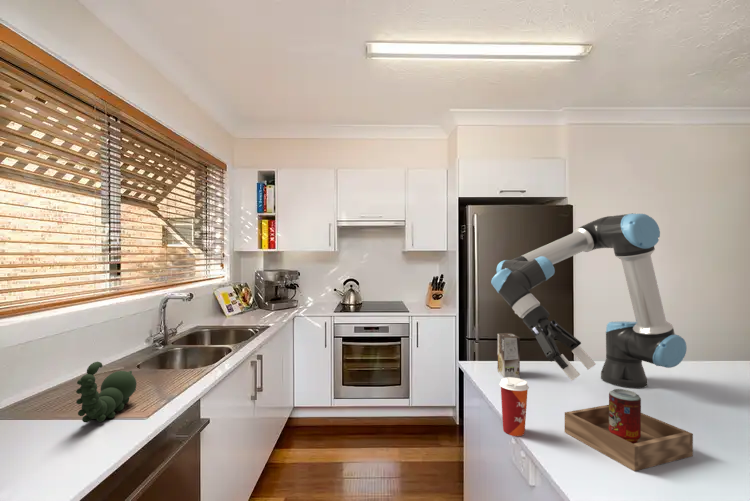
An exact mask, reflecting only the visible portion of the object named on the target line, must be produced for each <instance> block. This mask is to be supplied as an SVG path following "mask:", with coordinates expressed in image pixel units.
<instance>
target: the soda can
mask: <svg viewBox="0 0 750 501" xmlns="http://www.w3.org/2000/svg"><path fill="white" fill-rule="evenodd" d="M608 405H609V431H610V433H612V434H614V435H616V436H618V437H620V438H622V439H624V440H627V441H629V442H631V443H633V444H635V443H637V441H638V439H639V438H640V437H641V413H642V398H641V396H640V395H638V394H637V393H636V392H634V391H633V390H629V389H624V388H615V389H611V390H610V391H609V393H608Z"/></svg>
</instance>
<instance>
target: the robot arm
mask: <svg viewBox="0 0 750 501" xmlns="http://www.w3.org/2000/svg"><path fill="white" fill-rule="evenodd" d="M660 230H661V229H660V227H659V225H658V223H657V221H656V220H655V219H654V218H653V216H652V217H651V216H649V215H648V214H645V213H627V214H619V215H618V214H617V215H607V216H604V217H601V218H597V219H595V220H593V221H590V222H588V223H585V224H584V225H581V226H579V227H577V228H575V229H574V230H573V232H572V233H570V234H567V235H566V236H563V237H561V238H558V239H556V240H554V241H552V242H550V243H548V244H545V245H542V246H540V247H538V248H536V249H533V250H531V251H529V252H526V253H525V254H522V255H520V256H517V257H515V258H513V259H504V260H502V261H500V262H499V263H498V264H497V266H496V273H495V274H494V276H493V277H491V281H490V282H491V283H490V284H491V286H493V288H494V289H495V290H496V292H497V294H499V295H500V297H502V298H503V300H504V301H505V302H506V303H507V304H508V306H510V308H511V309H512V311H514V314H515V315H517V316H518V317H519V318H520V319H522V322H523V323H524V324H525V326H526V327H527V328H528V329H529V330H530V332H531V333H532V335H533V336H534V338H535V339H536V341H537V342H538V344H539V346H540V348H541V350H542V351H543V354H544V355H545V357H546V358H547V359H548V360H549V362H553V361H554V362H555V363H556V364H557V366H559V367H560V369H561V370H562V371H563V372H564V373H565V375H567V377H568V378H569V379H570V380H571V381H574V380H576V379H577V378H578V377H579V376H581V374H580V372H579V371H578V370H577V369H576V368H575V366H574V365H573V364H572V363H571V361H569V360H568V358H567V357H566V356H565V355H564V354H563V353H562V354H561V352H560V351H559V348H558V345H557V343H556V341H555V340H557V341H558V342H560V343H561V344H563V345H564V346H566V347H567V348H569V349H571V352H572V353H573V355H574V356H575V357H576V358H577V359H578V360H579V362H581V364H582V365H583V367H585V368H586V370H590V369H591V368H593V367H594V366H596V362H595V361H594V360H593V359H592V358H591V357H590V356H589V355H588V354H587V352H586V351H585V350H584V349H583V348H582V347H581V346H580V345H581V344H582V341H580V340H579V339H577V338H576V337H575V336H574V335H573V334H571V333H570V332H569V331H568V330H566V329H565V328H564V327H563V326H561V325H560V324H559V323H558V322H557V321H556V320H555V319H552V320H551V321H550V320H549V319H548V318H549V317H550V314H551V313H550V312H549V311H548V310H547V309H546V308H545V307H544V306H543V305H541V302H540V301H539V300H538V299H537V298H536V297H535V295H534V294H532V292H531V290H533V289H534V288H535V287H537V286H539V285H541V284H542V283H544V282H546V281H548V280H549V279H550V278H552V276H554V275H555V272H556V271H555V267H554V265H555V264H558V263H560V262H562V261H564V260H567V259H569V258H571V257H573V256H576V255H578V254H580V253H582V252H583V253H588V252H591V251H595V250H597V249H599V250H601V249H613V252H614V256H615V258H618V259H620V260H621V263H622V268H623V273H624V277H625V280H626V285H627V290H628V293H629V297H630V301H631V302H630V303H631V306H632V311H633V314H634V317H635V321H624V320H623V321H609V322H608V323H607V324H606V331H605V361H604V363H603V366H602V369H601V372H600V379H601V380H602V381H604V382H605V383H607V384H611V385H614V386H618V387H623V388H630V389H631V388H632V389H640V388H641V389H642V388H643V389H644V388H646V387H647V386H648V377H647V375H646V372H645V369H644V366H643V362H646V363H650V364H653V365H655V366H656V367H662V368H667V369H671V368H675V367H677V366H678V365H679V364H681V362H682V361H683V359H684V358H685V357H686V354H687V342H686V341H685V339H684V337H682V336H680V335H678V334H676V333H675V330H674V327H673V326H674V325H673V324H671V323H670V322H668V321H667V320H666V314H665V311H664V307H663V302H662V298H661V295H660V288H659V285H658V281H657V278H656V272H655V267H654V264H653V260H652V254H653V253H654V252H655V250H656V249H655V246H656V245H657V244H658V242H659V241H660V239H659V238H660V237H661V231H660Z"/></svg>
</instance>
